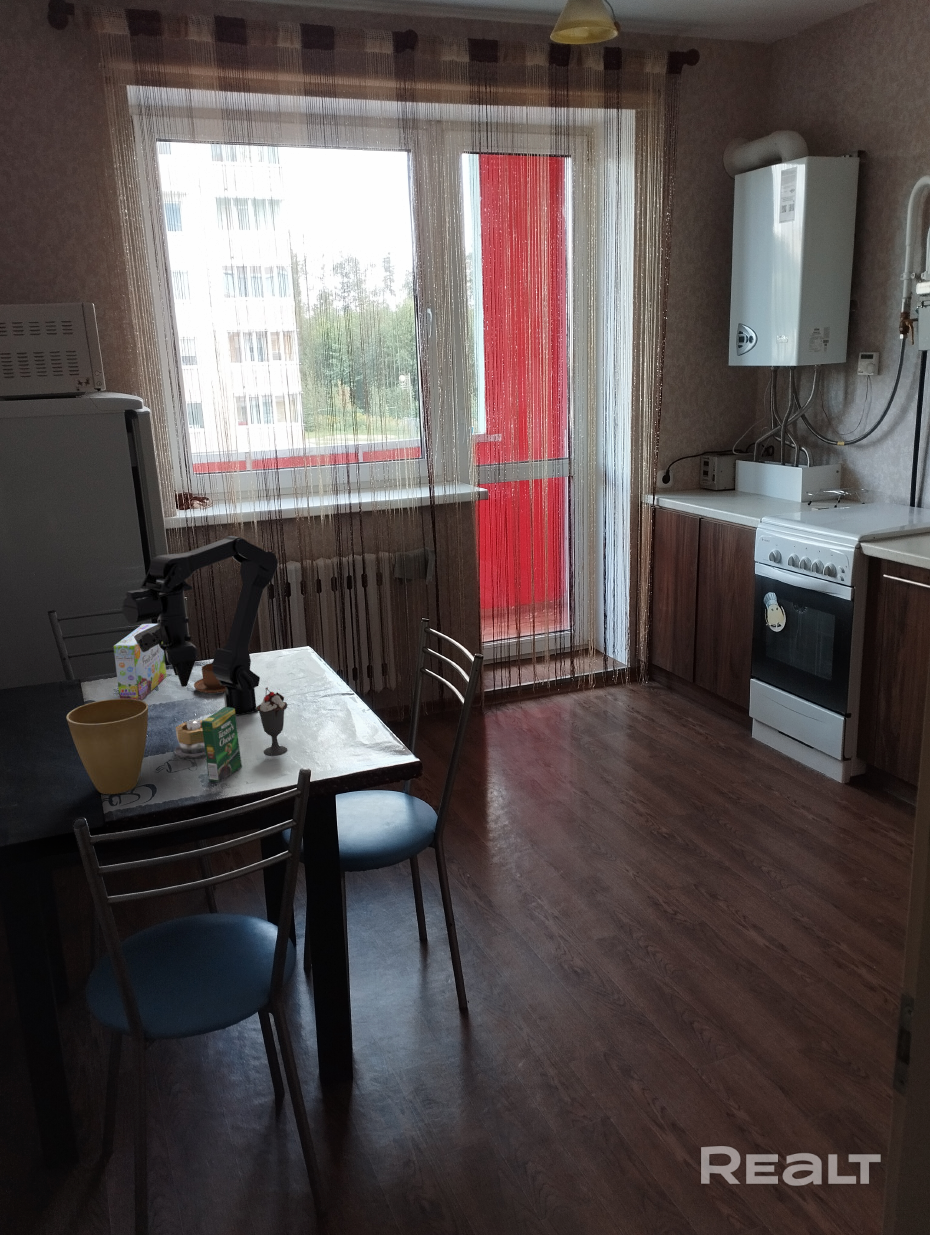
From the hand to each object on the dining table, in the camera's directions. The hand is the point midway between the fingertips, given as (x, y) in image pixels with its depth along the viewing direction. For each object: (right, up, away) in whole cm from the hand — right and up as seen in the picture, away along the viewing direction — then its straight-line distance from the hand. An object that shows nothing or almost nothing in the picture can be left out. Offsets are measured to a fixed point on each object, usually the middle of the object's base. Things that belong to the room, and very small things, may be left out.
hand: (180, 680), depth 214 cm
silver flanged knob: (+6, -14, -8) cm, 18 cm away
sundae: (+23, -14, -10) cm, 29 cm away
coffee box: (+15, -18, -21) cm, 32 cm away
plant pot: (-5, -19, -25) cm, 32 cm away
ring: (+6, -12, -9) cm, 16 cm away
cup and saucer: (+1, -4, +31) cm, 32 cm away
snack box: (-19, -5, +33) cm, 38 cm away
